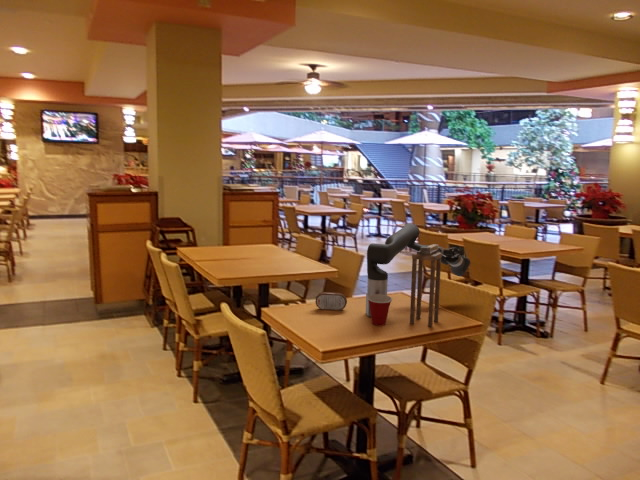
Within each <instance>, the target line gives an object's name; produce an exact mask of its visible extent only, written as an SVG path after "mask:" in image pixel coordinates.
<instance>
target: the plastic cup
mask: <svg viewBox="0 0 640 480" xmlns="http://www.w3.org/2000/svg"><path fill="white" fill-rule="evenodd" d="M367 298H368V300H369V305H370V313H371V319H370V320H371V322H372V325H374V326H378V327H379V326H385V325H386V323H387V318H388V314H389V310H390V305H391V303H392V300H393V298H392V297H391V296H390V295H388V294H387V295H381V294H374V295H369V296H368V297H367Z"/></svg>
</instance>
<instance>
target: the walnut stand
mask: <svg viewBox="0 0 640 480" xmlns="http://www.w3.org/2000/svg"><path fill="white" fill-rule="evenodd" d="M441 258H442V253H437V250H433V251H431V252H429V253H428V255H420V251H416V252H414V253H412V254H411V260H412V261H411V285H410V286H411V287H410V310H409V314H410V315H409V324H410V325H415V319H416V320H420V319H421V315H422V313H421V312H422V288H423V267H424V265H423V264H424V263H423V262H424V261H430V275H429V295H428V296H429V297H428V299H429V300H428V319H427V320H428V322H427V328H432V327H433V322H434V323H438V322H439V310H440V294H441V293H440V292H441V291H440V290H441V269H442V268H441V267H442V266H441V265H442V263H441ZM417 262H418V264H417ZM417 265H418V266H417ZM417 267H418V268H417ZM417 270H418V271H417ZM416 283H417V284H416ZM416 288H417V291H416ZM416 294H417V295H416ZM415 309H416V310H415ZM415 311H416V314H415ZM415 315H416V316H415Z"/></svg>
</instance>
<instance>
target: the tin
mask: <svg viewBox="0 0 640 480" xmlns="http://www.w3.org/2000/svg"><path fill="white" fill-rule="evenodd" d="M314 302H315V306H316V307H317V308H318V309H319V310H322V311H336V310H337V312H338V311H343V310H344V309H345V308H346V306H347V304H348V299H347V297H346V296H345V294H343V293H341V292H330V291H329V292H328V291H322V292H319V293H318V294H317V295H316V297H315V301H314Z"/></svg>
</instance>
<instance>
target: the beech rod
mask: <svg viewBox="0 0 640 480" xmlns="http://www.w3.org/2000/svg"><path fill="white" fill-rule="evenodd" d="M439 246H440V245H439V244H436V243H433V244H430V246H428V247H424V246H423V247H420V255H428V253H429V252H431V251H433V250H438V249H439Z"/></svg>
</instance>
